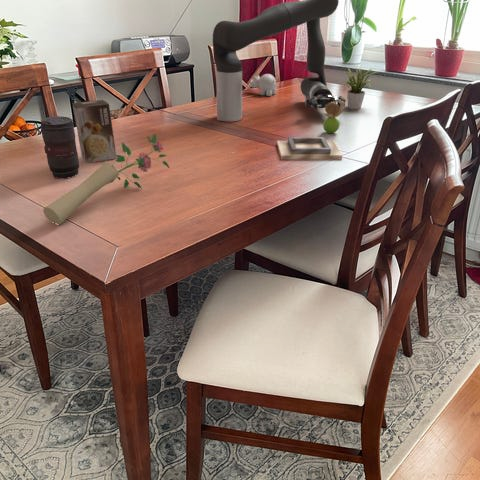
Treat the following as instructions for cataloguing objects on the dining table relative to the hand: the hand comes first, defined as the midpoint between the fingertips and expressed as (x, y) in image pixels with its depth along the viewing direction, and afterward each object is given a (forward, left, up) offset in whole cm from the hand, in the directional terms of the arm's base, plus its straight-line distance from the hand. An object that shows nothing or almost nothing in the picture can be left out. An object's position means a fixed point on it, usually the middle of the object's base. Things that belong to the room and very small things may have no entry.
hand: (328, 106), depth 172 cm
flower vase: (-65, -63, -7) cm, 90 cm away
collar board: (-11, -29, -7) cm, 32 cm away
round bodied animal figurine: (-20, +48, -7) cm, 53 cm away
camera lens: (-80, -47, -7) cm, 93 cm away
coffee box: (-74, -34, -7) cm, 82 cm away
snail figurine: (0, -10, -7) cm, 12 cm away
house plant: (+17, +24, -7) cm, 30 cm away
